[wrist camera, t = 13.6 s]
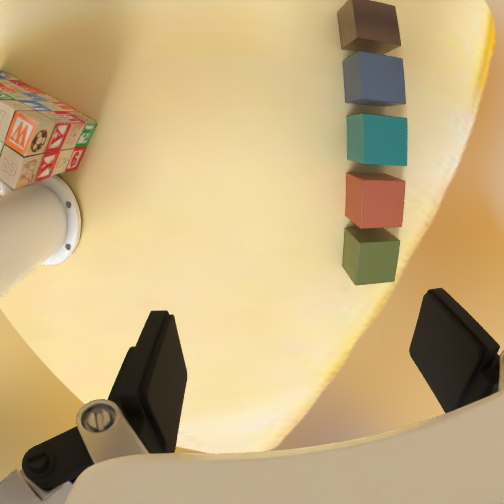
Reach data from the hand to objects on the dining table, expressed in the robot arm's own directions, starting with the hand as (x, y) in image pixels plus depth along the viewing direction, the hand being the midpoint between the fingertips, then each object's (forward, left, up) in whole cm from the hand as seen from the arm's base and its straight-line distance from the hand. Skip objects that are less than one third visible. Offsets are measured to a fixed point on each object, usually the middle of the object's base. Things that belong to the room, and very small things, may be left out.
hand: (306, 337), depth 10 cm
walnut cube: (-5, +22, -24) cm, 33 cm away
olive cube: (+13, +4, -24) cm, 28 cm away
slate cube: (-1, +18, -24) cm, 30 cm away
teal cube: (+4, +13, -24) cm, 28 cm away
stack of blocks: (-30, -10, -24) cm, 40 cm away
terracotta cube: (+9, +8, -24) cm, 27 cm away
